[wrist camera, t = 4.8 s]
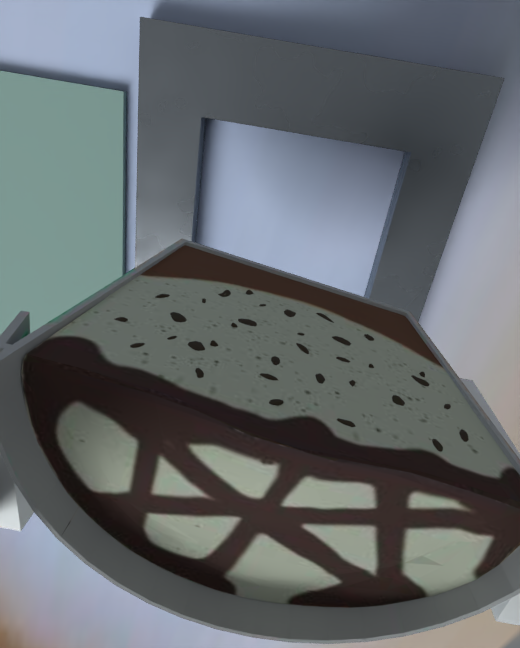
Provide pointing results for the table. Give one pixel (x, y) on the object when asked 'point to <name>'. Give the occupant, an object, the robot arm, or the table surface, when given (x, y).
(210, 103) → the grey rectangular frame
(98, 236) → the pad
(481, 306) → the table surface
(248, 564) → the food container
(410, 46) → the table surface
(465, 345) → the table surface
